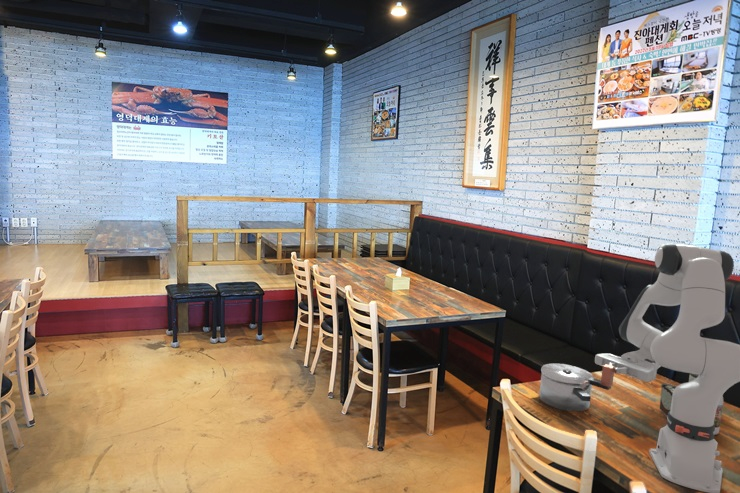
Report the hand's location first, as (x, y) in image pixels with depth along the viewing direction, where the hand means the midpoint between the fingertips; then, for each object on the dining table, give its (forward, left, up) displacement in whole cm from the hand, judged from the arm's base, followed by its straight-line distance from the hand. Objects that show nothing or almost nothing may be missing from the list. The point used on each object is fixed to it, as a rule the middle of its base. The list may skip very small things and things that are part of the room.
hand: (612, 369), depth 176 cm
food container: (+14, -22, -17) cm, 31 cm away
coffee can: (+27, -32, -17) cm, 46 cm away
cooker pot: (+1, +14, -17) cm, 22 cm away
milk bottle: (+7, -31, -17) cm, 36 cm away
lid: (+2, +12, -7) cm, 14 cm away
